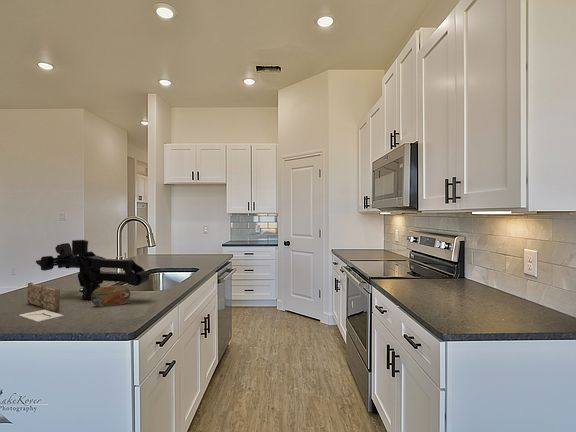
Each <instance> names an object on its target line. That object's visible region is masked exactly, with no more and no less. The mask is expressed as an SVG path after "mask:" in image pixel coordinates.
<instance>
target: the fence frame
mask: <svg viewBox="0 0 576 432" xmlns="http://www.w3.org/2000/svg"><path fill="white" fill-rule="evenodd" d="M40 286H41V306H40V309H43V310H48V311H51V312H54V313H59V312H60V309H61V308H60V307H61V305H60V304H61V303H60V302H61V301H60V300H61V299H60V298H61V296H60V295H61V294H60V293H61V289H60V288H51V287H47V286H46V284H45V285H40Z"/></svg>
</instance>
